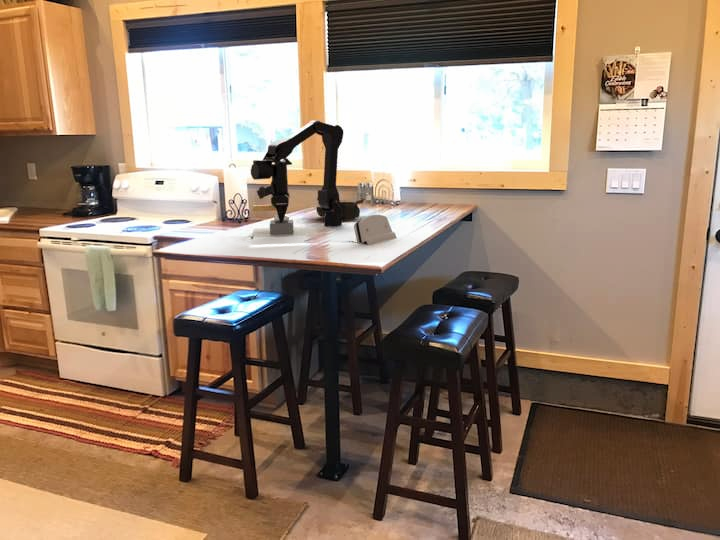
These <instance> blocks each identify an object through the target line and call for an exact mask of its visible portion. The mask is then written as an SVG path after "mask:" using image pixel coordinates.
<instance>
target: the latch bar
mask: <svg viewBox="0 0 720 540" xmlns="http://www.w3.org/2000/svg"><path fill="white" fill-rule="evenodd" d="M267 211H268V212H270V211H276V212H277V210H276V208H275V207H274V206H272V204H257V205H256V204H254V205H252V212H267Z"/></svg>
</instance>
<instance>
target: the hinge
mask: <svg viewBox="0 0 720 540" xmlns="http://www.w3.org/2000/svg"><path fill="white" fill-rule="evenodd" d="M353 229H354V234H355V240H356V243H358V245H359V244H363V243H365V242H366V245H367V246H371V245H374V244H377V243H382V242H385V241H390V240H393V239H397V235H396V234H397V233H396V232H394V231H393V230H392V227H391V225H390V222H389V220H388V217H387V216H386V215H382V214H369V215H367V216H364V217H362V218H360V219H358V220H357V221H356V222H355V223H354V224H353Z"/></svg>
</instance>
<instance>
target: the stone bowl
mask: <svg viewBox="0 0 720 540" xmlns="http://www.w3.org/2000/svg"><path fill="white" fill-rule="evenodd" d="M365 200H366V198H365V197H364V198H362V199H358V200H346V201H345V200H344V201H340V202H341V203H342V204H343V205H344V206H345V211H344V213H341V215H342V222H350V221H352V220H355V219H358V218H359V217H360V214H361V209H360V208H359V206H358V205H359V204H363V203H364V201H365ZM309 208H316V213H317V215H318V216H319V217H322V218H324V215H325V212H323V211H322V208H321V206H320V205H319V203H318V204H313V205H309Z"/></svg>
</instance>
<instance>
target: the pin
mask: <svg viewBox="0 0 720 540" xmlns="http://www.w3.org/2000/svg"><path fill="white" fill-rule="evenodd" d="M273 220H274V222H275V223H287V222H289V220H290V214H288V213H286V214H285V217H284V220H283V222H280V221H279V217H278V213H276V214H274V215H273Z"/></svg>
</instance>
